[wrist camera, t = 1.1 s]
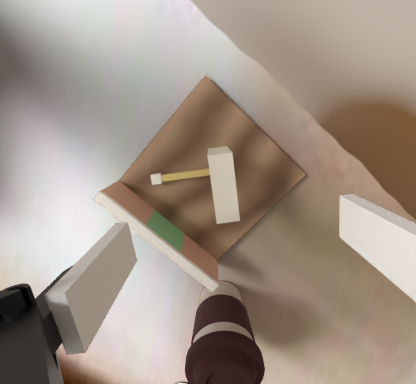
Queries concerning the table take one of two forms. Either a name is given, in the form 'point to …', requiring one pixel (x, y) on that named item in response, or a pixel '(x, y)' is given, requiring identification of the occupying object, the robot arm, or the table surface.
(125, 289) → the table surface
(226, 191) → the white block with rod
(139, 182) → the board
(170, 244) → the scale wall
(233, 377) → the coffee cup
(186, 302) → the table surface
